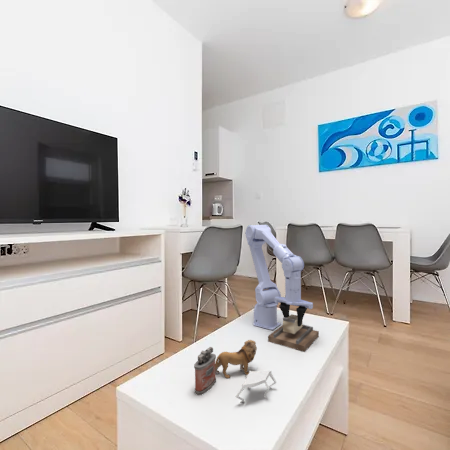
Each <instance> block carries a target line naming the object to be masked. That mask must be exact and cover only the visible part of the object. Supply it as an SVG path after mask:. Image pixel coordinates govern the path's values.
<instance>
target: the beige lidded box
mask: <svg viewBox="0 0 450 450" xmlns="http://www.w3.org/2000/svg"><path fill="white" fill-rule="evenodd" d="M282 325H283V331H284V332H288V333H292V334H295V333H296V332H297V331H298V330H299V329H301V328H302V325H303V324H302V325H301V326H298V317H297V314H289V316H288V317H287V318H285V317H284V316H283V317H282Z"/></svg>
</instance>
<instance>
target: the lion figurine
mask: <svg viewBox="0 0 450 450" xmlns="http://www.w3.org/2000/svg"><path fill="white" fill-rule="evenodd" d="M257 349H258V348H257V343H256V341H254V340H252V339H248V340H246V341H245V342H244V345H242V346H241V349H239V350H238V351H233V352H230V351H229V352H228V351H222V352H220V353H219V355H218V356H217V357H216V359H215V375H216V374H217V375H218V374H220V371H219V370H218V369H219V368H220V367H222V374H223V376H224V377H225V379H230V378H231V375H230V374H227V369H228V366H229V365H232V366H239V369H240V371H243V372H244V374H245V375H248V374H249V371H248V370H249V369H248V368H249V364H250V363H252V362H253V361H254V359H255V356H256V353H257Z"/></svg>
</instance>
